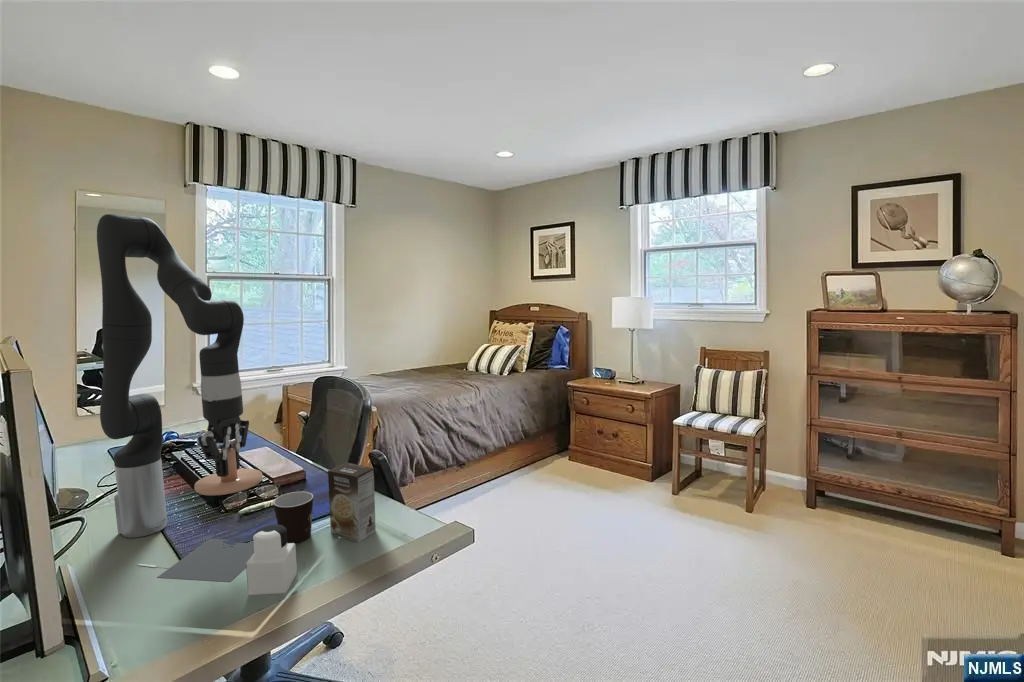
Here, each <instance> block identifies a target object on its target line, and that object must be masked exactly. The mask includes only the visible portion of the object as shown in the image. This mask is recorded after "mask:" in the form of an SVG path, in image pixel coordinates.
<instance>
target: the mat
mask: <svg viewBox="0 0 1024 682" xmlns="http://www.w3.org/2000/svg"><path fill="white" fill-rule="evenodd" d="M227 540H228V539H223V538H222V539H221V538H209V539H207V540H206V541H205V542H203V543H201V544H200V545H199V546H198V547H196V548H195V549H194V550H192V551H191V552H190V553H188V554H187V555H186V556H184V557H183V558H181V559H180V560H178V562H176V563H175V564H173V565H172V566H170V567H169V568H168V569H166V570H165V571H164V572H163V573H161V574H160V575H158V576H157V577H156V578H157V579H172V580H173V579H174V580H175V579H176V580H189V581H208V582H223V583H231V582H232V581H233V580H234V579H235V578H237V577H238V576H239V575H240V574H241V573H242V572H243V571H245V570H246V563H247V561H248V560H249V559H250V557H251V556H252V555H253V554H254V543H253V540H249V541H250V542H248V543H235V544H236V545H229V544H226V543H223V541H227ZM227 542H228V541H227ZM223 544H224V545H223ZM227 545H228V546H233V547H228V546H227ZM223 547H225V548H223Z"/></svg>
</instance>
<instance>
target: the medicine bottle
mask: <svg viewBox="0 0 1024 682" xmlns="http://www.w3.org/2000/svg"><path fill="white" fill-rule="evenodd" d="M252 539H253V540H252V541H253V543H254V554H253V555H252V556H251V557H250V559H249V560H248V561H247V563H246V568H245V571H246V579H247V581H246V582H247V594H248V596H255V595H272V594H286V593H288V590H289V588H290V587H291V585H292V583H293V581H294V580H295V578H296V576H297V575H298V568H297V567H298V565H297V550H296V549H297V548H296V544H295V543H287V529H286V528H285V527H284V526H283V525H278V524H268V525H265V526H262V527H260V528H258V529H257V530H256V531H254V533H253V535H252Z"/></svg>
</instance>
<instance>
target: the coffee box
mask: <svg viewBox="0 0 1024 682" xmlns="http://www.w3.org/2000/svg"><path fill="white" fill-rule="evenodd" d="M374 470H375V469H374V467H371V466H370V467H369V466H366V465H361V464H356V463H351V462H348V461H345V462H343V463H341V464H339V465H337V466H334V467H333V468H330V469H329V470H328V471H327V480H328V481H327V482H328V497H329V498H328V499H329V501H328V502H329V515H330V516H329V521H330V534H335V535H337V536H338V537H339V538H343V539H345V540H350V541H354V542H357V543H360V542H362V541H363V540H365V539H366V538H368V537H369V536H370V535H372V534H374V533H375V532H377V531H376V530H377V529H376V501H375V499H376V497H375V473H374V472H375V471H374Z"/></svg>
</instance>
